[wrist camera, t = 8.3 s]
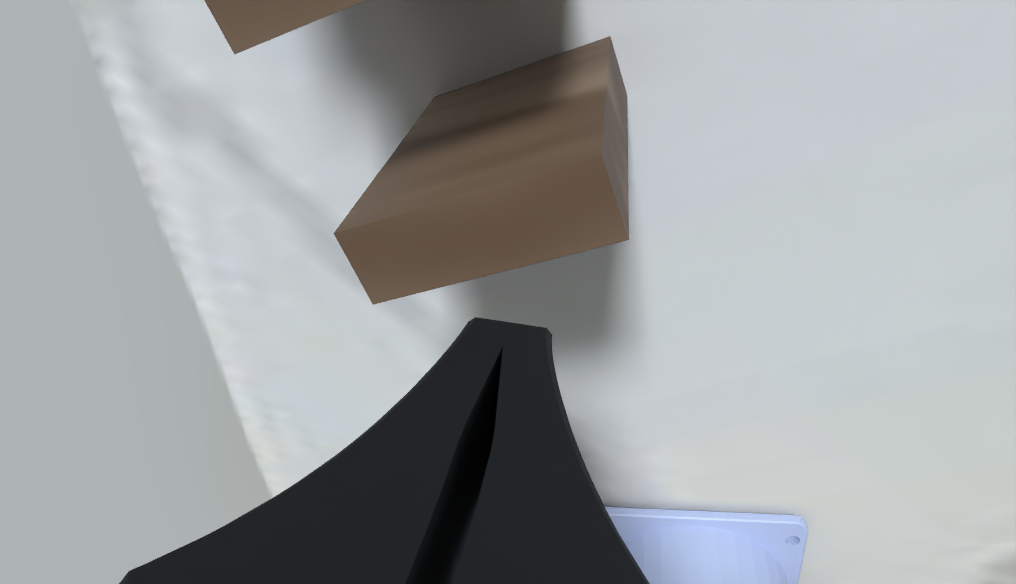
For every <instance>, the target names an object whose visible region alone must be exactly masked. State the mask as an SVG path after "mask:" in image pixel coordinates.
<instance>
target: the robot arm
mask: <svg viewBox="0 0 1016 584" xmlns="http://www.w3.org/2000/svg"><path fill="white" fill-rule="evenodd" d="M807 535H808V527H807V523H806V521H805V520H804V518H802V517H800V516H796V515H782V514H759V513H735V512H712V511H688V510H665V509H641V508H618V507H604V505H603V503H602V501H601V499H600V496H599V494H598V492H597V490H596V488H595V486H594V484H593V482H592V480H591V477H590V475H589V473H588V471H587V468H586V466H585V464H584V461H583V459H582V456H581V454H580V451H579V448H578V446H577V443H576V441H575V438H574V435H573V433H572V430H571V427H570V424H569V421H568V418H567V414H566V411H565V407H564V404H563V401H562V397H561V394H560V390H559V386H558V382H557V377H556V372H555V367H554V362H553V354H552V334H551V333H550V332H549V330H548V329H547V328H543V327H536V326H529V325H523V324H516V323H509V322H503V321H496V320H489V319H483V318H476V317H475V318H474V319H472V320H471V321H469V322H468V323H467V325H466V326H465V328H464V329H463V330H462V332H461V333H460V334H459V336H458V337H457V338H456V340H455V341H454V342H453V343H452V345H451V346H450V347H449V348H448V350H447V351H446V352H445V353H444V354H443V355H442V357H441V358H440V359H439V360H438V361H437V362H436V364H435V365H434V366H433V367H432V368H431V369H430V370H429V371H428V372H427V373H426V374H425V375H424V376H423V377H422V379H421V380H420V381H419V382H418V383H417V384H416V385H415V386H414V387H413V388H412V389H411V390H410V391H409V392H408V393H407V394H406V395H405V396H404V397H403V398H402V399H401V400H400V401H399V402H398V403H397V404H395V405H394V406H393V407H392V408H391V409H390V410H389V411H388V412H387V413H386V414H385V415H384V416H383V417H382V418H381V419H380V420H378V421H377V422H376V423H375V424H374V425H373V426H371V427H370V428H369V429H368V430H367V431H366V432H364V433H363V434H362V435H361V436H360V437H358V438H357V439H356V440H355V441H354V442H352V443H351V444H350V445H348V446H347V447H346V448H345V449H343V450H342V451H341V452H339V453H338V454H337V455H335V456H334V457H333V458H331V459H330V460H329V461H327V462H326V463H324V464H323V465H322V466H320V467H319V468H317V469H316V470H314V471H313V472H312V473H310V474H309V475H307V476H306V477H304V478H303V479H302V480H300V481H299V482H297V483H296V484H294V485H293V486H291V487H289V488H288V489H286V490H285V491H283V492H282V493H280V494H278V495H277V496H275V497H274V498H272V499H270V500H268V501H267V502H265V503H264V504H261V505H260V506H258V507H256V508H254V509H253V510H251V511H249V512H248V513H246V514H244V515H242V516H241V517H239V518H237V519H236V520H234V521H232V522H230V523H229V524H227V525H225V526H223V527H221V528H219V529H217V530H216V531H214V532H212V533H210V534H208V535H206V536H204V537H202V538H200V539H198V540H196V541H194V542H191V543H189V544H187V545H185V546H183V547H181V548H179V549H177V550H174V551H172V552H170V553H168V554H166V555H164V556H162V557H159V558H157V559H155V560H153V561H151V562H149V563H147V564H144V565H142V566H140V567H137V568H135V569H133V570H131V571H129V572H128V573H127V574H126V576H125V577H124V578H123V580H122V581H121V582H120V583H119V584H798V581H799V575H800V570H801V565H802V560H803V555H804V550H805V545H806V540H807Z"/></svg>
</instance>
